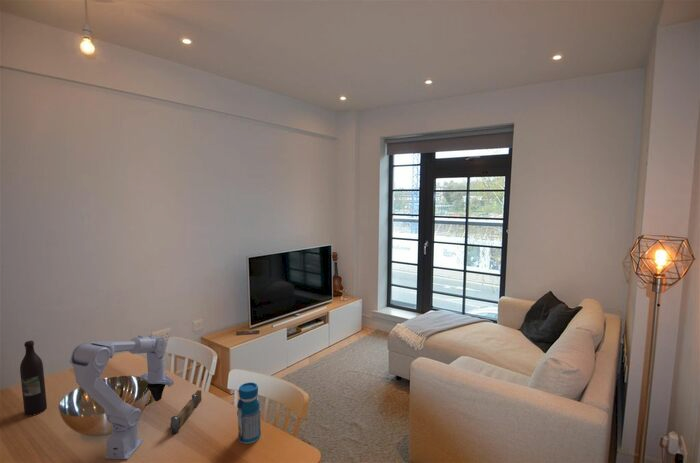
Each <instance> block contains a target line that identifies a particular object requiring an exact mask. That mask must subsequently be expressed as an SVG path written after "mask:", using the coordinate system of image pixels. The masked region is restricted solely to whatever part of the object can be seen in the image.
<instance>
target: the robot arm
mask: <svg viewBox="0 0 700 463" xmlns="http://www.w3.org/2000/svg"><path fill="white" fill-rule="evenodd" d="M167 346H168V341H167V342H166V339H165V338H164V337H161V336H160V337H159V336H154V335H147V336H144V335H137V336H135V337H132V338H131V339H130V340H128V341H127V340H121V341H120V340H119V341H118V340H111V341H110V340H108V341H107V340H105V341H92V342H90V343H86V342H82V343H80V344H78V345H77V346H75V347H74V349H73V350H72V353H71V356H70V359H69V363H70V364H71V365H72V367H73V372H74V377H75V378H74V379H75V383H76V384H77V385H78V386H79V387H80V388H81V389H82V390H83V391H84V392H85V393H86V394H88V396H89V397H91V398H92V400H94V402H96V403H97V404H98V405H99V406H100V407H101V408H102V409H104V412H103V414H104V415H105V417H106V421H107V422H108V423H110V424H111V427H112V431H111V434H110V435H109V437H108V438H107V439H106V453H107V454H106V456H105V457H104V459H107V460H109V459H110V460H111V459H112V460H128V459H129V458H130V457H131V456H132V455H133V454H134V452H135V451H136V450H137V449H138V448H139V447H140V446H141V444H142V443H143V442H144V439H143V438H142V439H141V438H139V436H138V424H139V421H140V420H141V417H142V411H141V408H138V407H134V406H133V405H131V404H129V403H127V402H125V400H123V399H122V397H120V396H119V395H118V394H117V393H116V392H115V391H114V390H113V389H112V388H111V387H110V386H109V384H107V382H106V381H104V380H103V379H102V378H101V377H102V375H103V372H104V371H105V369H106V367H107V365H108V363H109V361H110V359H113V357H114V355H115V354H114V353H123V352H129V353H130V354H132V355H135V354H136V355H137V354H146V361H147V362H146V363H147V364H146V365H147V373H143V374H141V375H140V377H139V379H140V380H141V381H143V380H146V381H147V382H148V383H149V384H148V385H147V388H148V389H149V390H150V391H151V393H152V395H153V399H154V400H153V402H159V401H161V399H162V396H163V393H164V390H165V387H166V386H167V387H169V388H170V387H172V386H174V379H172V378H171V377H169V376H167V373H166V372H165V370H166V369H165V354H166V348H167Z"/></svg>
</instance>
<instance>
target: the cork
mask: <svg viewBox="0 0 700 463" xmlns="http://www.w3.org/2000/svg"><path fill="white" fill-rule="evenodd" d="M148 384H149V383H148V382H147V381H146V380H143V381H141V380H140V378H138V379H137V386H138V394H137V396H138V397H140V396H141V395H142V394H143V392H144V391H145V390H146V388H147V385H148ZM138 397H137V398H138ZM152 403H154V398H153V395H152V393H151V396H150V400H149V402H148V405H150V404H152Z"/></svg>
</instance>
